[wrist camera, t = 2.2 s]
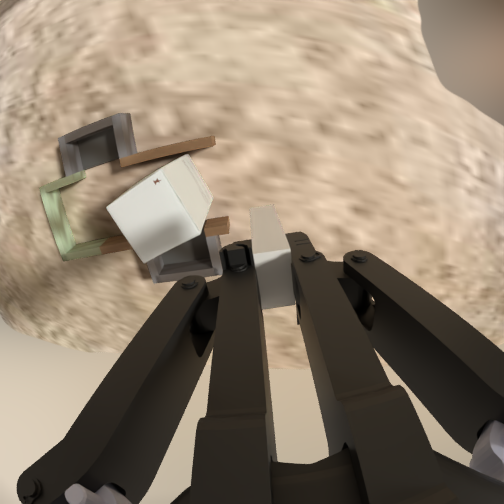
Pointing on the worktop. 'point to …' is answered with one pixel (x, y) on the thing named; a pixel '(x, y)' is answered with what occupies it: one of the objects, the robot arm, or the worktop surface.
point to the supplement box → (163, 208)
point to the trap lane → (124, 148)
